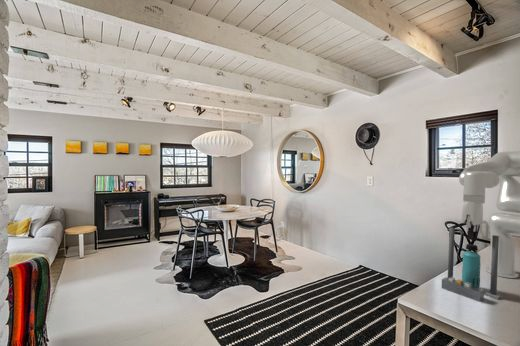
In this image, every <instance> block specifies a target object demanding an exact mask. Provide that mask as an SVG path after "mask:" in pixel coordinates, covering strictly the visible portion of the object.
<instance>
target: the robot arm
mask: <svg viewBox="0 0 520 346" xmlns="http://www.w3.org/2000/svg"><path fill="white" fill-rule="evenodd" d="M515 177H519V178H520V150H518V151H517V150H516V151H499V152H497V153H495V154H494V155H493V156H492V157H490V158H489V159H488V160H487V161H483V162H480V163H477V164H473V165H469V166H467V167H466V168H465V169H463V171H461V173H460V174H459V177H458V180H459V184H460V185H461V186H462V187H463V196H462V197H463V198H462V202H463V206H462V212H461V223H462V224H466V225H465V227H466V230H467V234H466V235H467V237H466V238H467V240H470V241H474V242H475V241H478V233H479V232H478V231H479V226H480V224H483V220H484V219H483V218H484V206H483V204H485V203H486V202H485V201H486V189H493V188H495V187H497V186H498V185H499V189H498V193H497V199H496V208H497V209H498V210H499V211H501V212H495V213H492V214H491V215H490V216H489V218H488V224H489V228H490V248H489V251H490V252H489V266H486V267H485V271H486V272H488V274H491V260H492V236H493V235H496V236H499V245H498V269H497V277H501V278H506V279H507V278H508V279H517V278H519V274H518V273H517V272H516V271H515V270H516V269H515V268H516V267H515V266H516V265H515V264H516V244H517V243H516V239H515V238H514V236H513V235H512V234H515V235H520V215H519V214H520V181H518V180H517V179H516V178H515ZM506 212H507V213H506ZM514 213H515V214H514Z"/></svg>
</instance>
